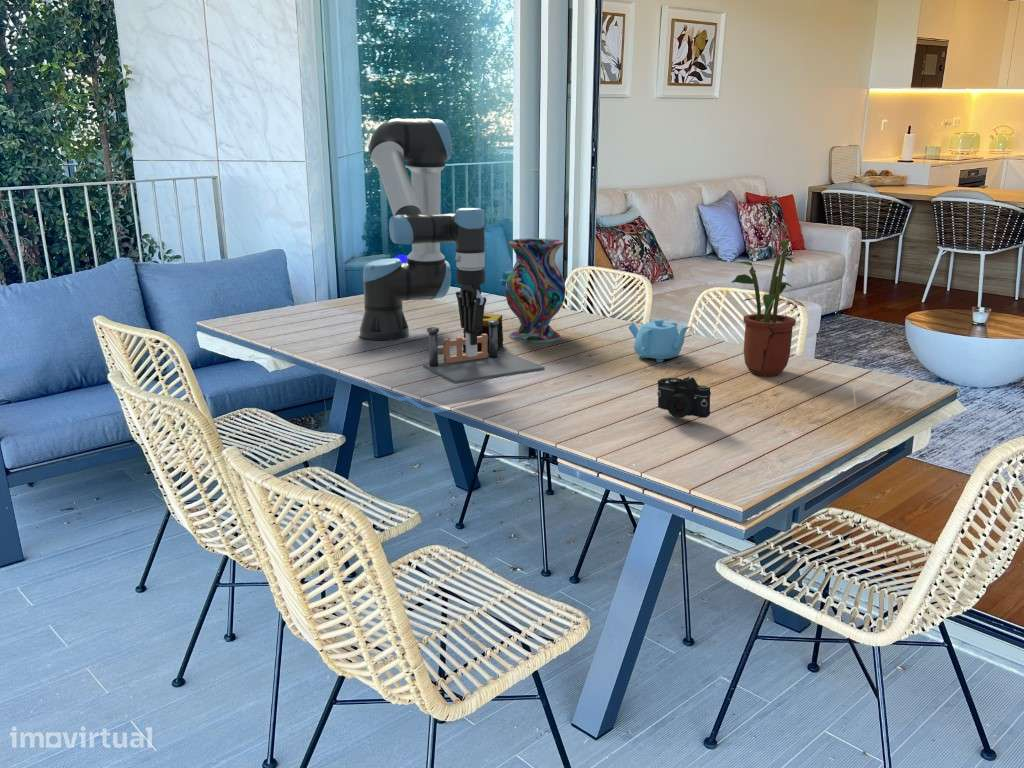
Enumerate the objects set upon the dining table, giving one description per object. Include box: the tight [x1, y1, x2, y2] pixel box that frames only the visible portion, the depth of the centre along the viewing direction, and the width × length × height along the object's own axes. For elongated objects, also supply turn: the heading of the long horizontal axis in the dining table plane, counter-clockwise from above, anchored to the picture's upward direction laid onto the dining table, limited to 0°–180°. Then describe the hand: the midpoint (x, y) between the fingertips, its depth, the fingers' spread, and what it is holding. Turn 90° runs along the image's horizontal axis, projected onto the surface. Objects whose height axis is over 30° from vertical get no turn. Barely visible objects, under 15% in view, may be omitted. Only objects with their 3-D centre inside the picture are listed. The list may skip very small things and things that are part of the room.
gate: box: [442, 334, 489, 363], centre depth 238 cm, size 13×2×6 cm, turn 122°
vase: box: [504, 237, 566, 344], centre depth 264 cm, size 18×18×30 cm
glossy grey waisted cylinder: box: [487, 320, 499, 358], centre depth 242 cm, size 3×3×11 cm
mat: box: [422, 352, 546, 384], centre depth 234 cm, size 19×27×1 cm
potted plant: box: [730, 240, 797, 377], centre depth 224 cm, size 17×16×35 cm
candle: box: [462, 313, 504, 355], centre depth 253 cm, size 10×10×10 cm
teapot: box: [627, 318, 691, 363], centre depth 243 cm, size 15×14×11 cm
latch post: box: [426, 326, 444, 367], centre depth 234 cm, size 5×6×11 cm
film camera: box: [656, 375, 712, 419], centre depth 193 cm, size 13×8×10 cm, turn 54°
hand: (471, 355), depth 233 cm, fingers closed
